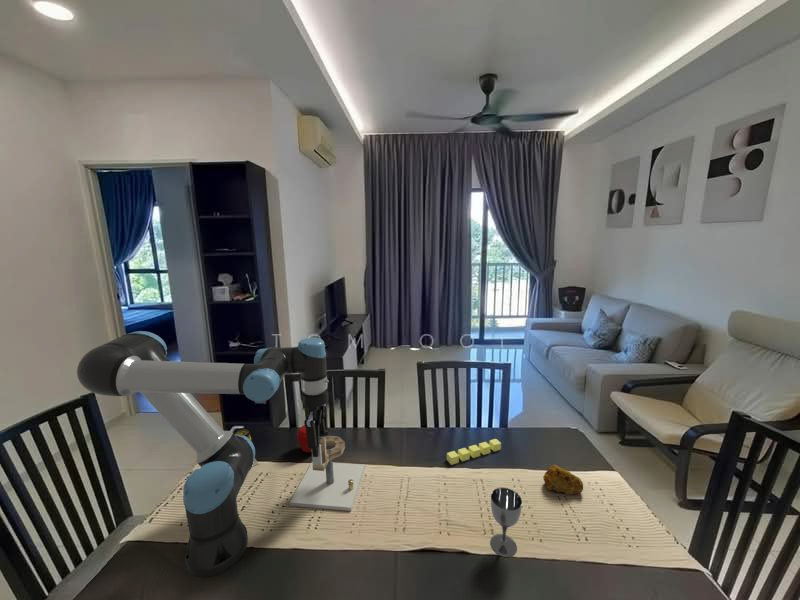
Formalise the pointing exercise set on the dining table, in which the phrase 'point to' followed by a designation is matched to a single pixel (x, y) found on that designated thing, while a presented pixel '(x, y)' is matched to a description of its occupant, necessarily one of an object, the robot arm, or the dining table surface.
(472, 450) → the yellow cube row
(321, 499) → the board
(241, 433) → the condiment
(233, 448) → the robot arm
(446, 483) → the dining table surface
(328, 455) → the tan nut with handle
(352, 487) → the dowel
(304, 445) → the apple
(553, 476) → the brown lumpy piece
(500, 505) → the wine glass
